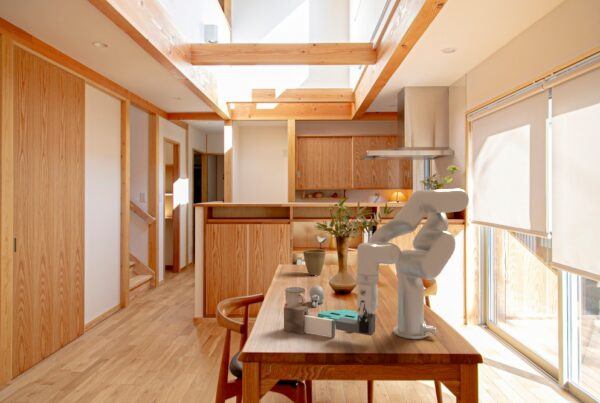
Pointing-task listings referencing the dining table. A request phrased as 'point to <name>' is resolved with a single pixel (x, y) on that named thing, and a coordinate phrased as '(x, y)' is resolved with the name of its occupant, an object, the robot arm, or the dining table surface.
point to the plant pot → (314, 261)
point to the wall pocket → (294, 318)
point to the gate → (319, 326)
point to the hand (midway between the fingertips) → (366, 329)
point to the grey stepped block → (355, 324)
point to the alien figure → (338, 314)
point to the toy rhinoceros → (316, 295)
